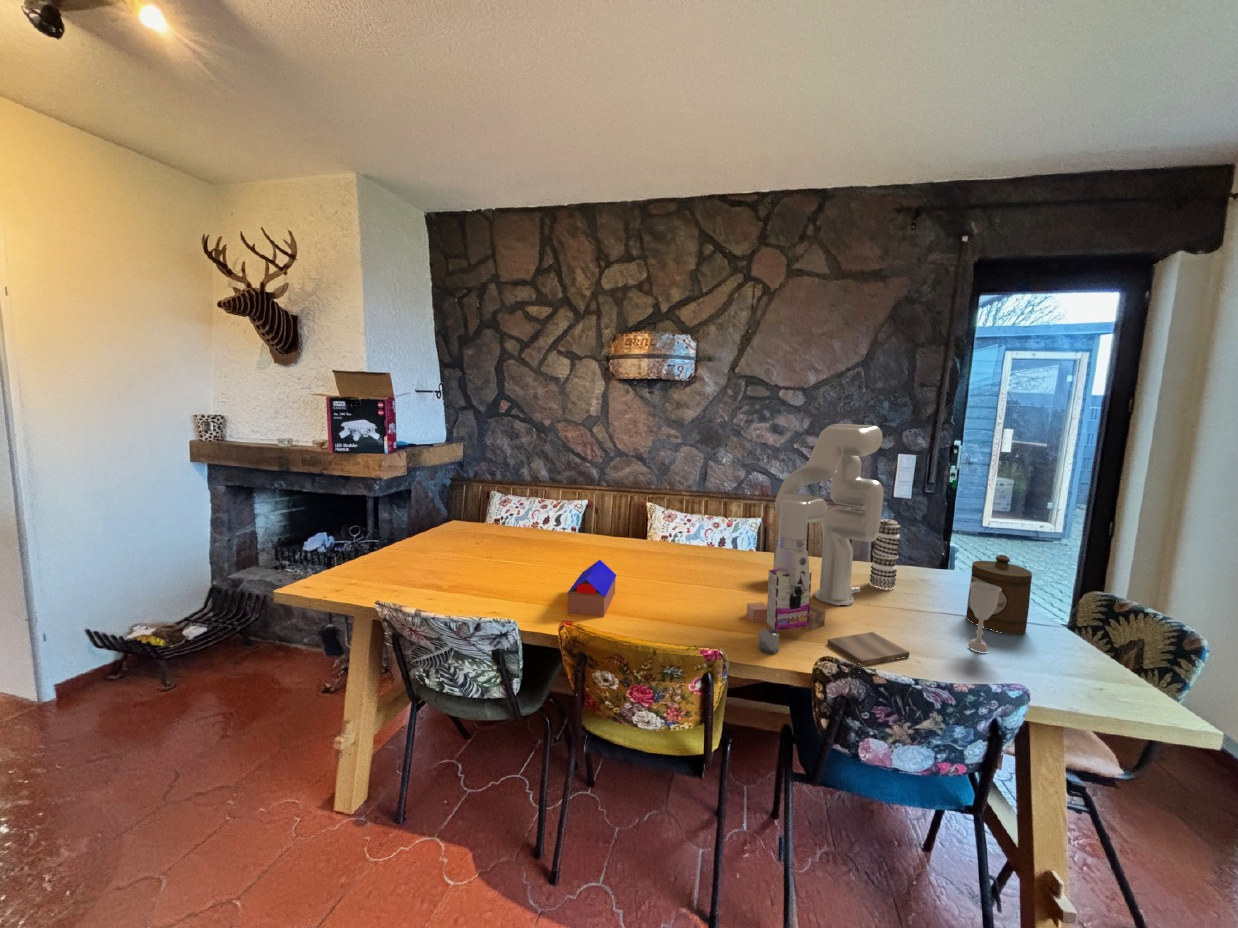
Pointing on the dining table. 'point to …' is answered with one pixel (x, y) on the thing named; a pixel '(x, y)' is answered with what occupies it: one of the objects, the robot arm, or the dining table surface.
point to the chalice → (982, 609)
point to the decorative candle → (885, 554)
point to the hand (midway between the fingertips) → (788, 603)
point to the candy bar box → (785, 603)
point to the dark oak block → (816, 617)
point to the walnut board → (867, 648)
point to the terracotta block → (757, 612)
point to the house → (592, 591)
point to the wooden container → (1004, 594)
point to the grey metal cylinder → (769, 641)
